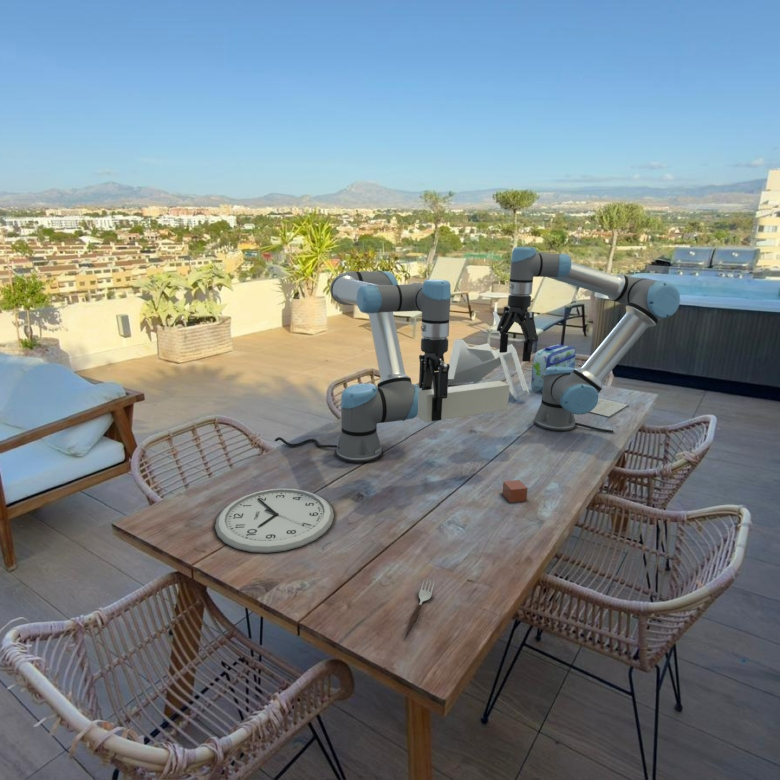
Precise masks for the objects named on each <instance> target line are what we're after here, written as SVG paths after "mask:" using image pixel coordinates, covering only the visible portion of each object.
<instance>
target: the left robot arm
mask: <svg viewBox="0 0 780 780" xmlns="http://www.w3.org/2000/svg"><path fill="white" fill-rule="evenodd" d="M451 288H452V287H451V283H450V281H449V280H446V279H425V280H424V281H423V283H421V282H412V283H408V284H399V282H398V280H397V278H396V276H395V275H394V274H393V273H392V272H391V271H386V270H385V271H382V270H375V271H369V270H368V271H347V272H346V271H345V272H343V273H340V274H338V275H337V276H336V277H335V278H334V279H333V280H332V281H331V283H330V286H329V289H330V290H329V291H330V296H331V297H332V299H333V300H334V301H335V302H336V303H337V304H339V305H343V306H356V307H357V308H358V309H359V311H360V313H363V314H365V315H367V316H368V319H369V325H370V330H371V335H372V340H373V345H374V346H373V347H374V351H375V356H376V361H377V367H378V372H379V377H380V379H379V381H378V382H377V385H375V384H374V383H366V382H363V383H361V382H360V383H356V384H355V383H354V384H352V385H349V386H347V387H346V388H345V389H343V390H342V392H341V397H340V398H341V399H340V411H341V412H340V414H341V415H340V416H341V419H340V420H341V421H340V422H341V423H340V425H341V433H340V435H339V439H338V442H337V444H320V442H319V441H318V440H317V439H315V438H308V439H304V440H303V441H300V442H296V443H291V442H288V441H287V440H285V439H284V438H283V437H281V436H279V437H276V438H275V439H274V442H278V441H281V442H282V443H283V444H284V445H285V446H289V447H299V446H301V445H304V444H306V443H311V442H313V443H315V444H316V446H317V447H318V448H321V449H322V448H323V449H324V448H326V449H327V448H328V449H329V448H333V449H335V448H336V449H335V453H336V457H337V458H338V459H339V460H341V461H344V462H348V463H351V464H352V463H353V464H364V463H370V462H374V461H376V460H378V459H380V458H381V456H382V455H383V453H382V452H383V447H382V445H381V442H380V438H379V435H378V427H377V426H378V425H377V424H383V423H391V422H400V421H403V422H404V421H407V420H413V419H414V418H416V417H418V391H421V390H429V389H434V397H433V398H432V421H433V422H438V421H437V420H439V421H442V420H441V415H442V399H444V398H447V393H448V387H449V385H448V372H449V368H450V365H449V363H446V362H445V357H444V355H445V353H447V352H448V351H449V338H448V337H449V336H450V314H451V299H452V293H451ZM400 312H401V313H402V312H403V313H404V312H421V326H420V330H421V332H420V333H421V336H422V337H421V338H420V351H421V352H423V353H424V354H419V355H418V359H419V374H418V384H415V383H413V382H412V379H411V377H410V376H409V375H407V374H406V371H405V370H406V369H405V365H404V361H403V356H402V351H401V346H400V340H399V335H398V330H397V326H396V321H395V316H394V313H400ZM432 386H433V388H432ZM420 389H421V390H420Z"/></svg>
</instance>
